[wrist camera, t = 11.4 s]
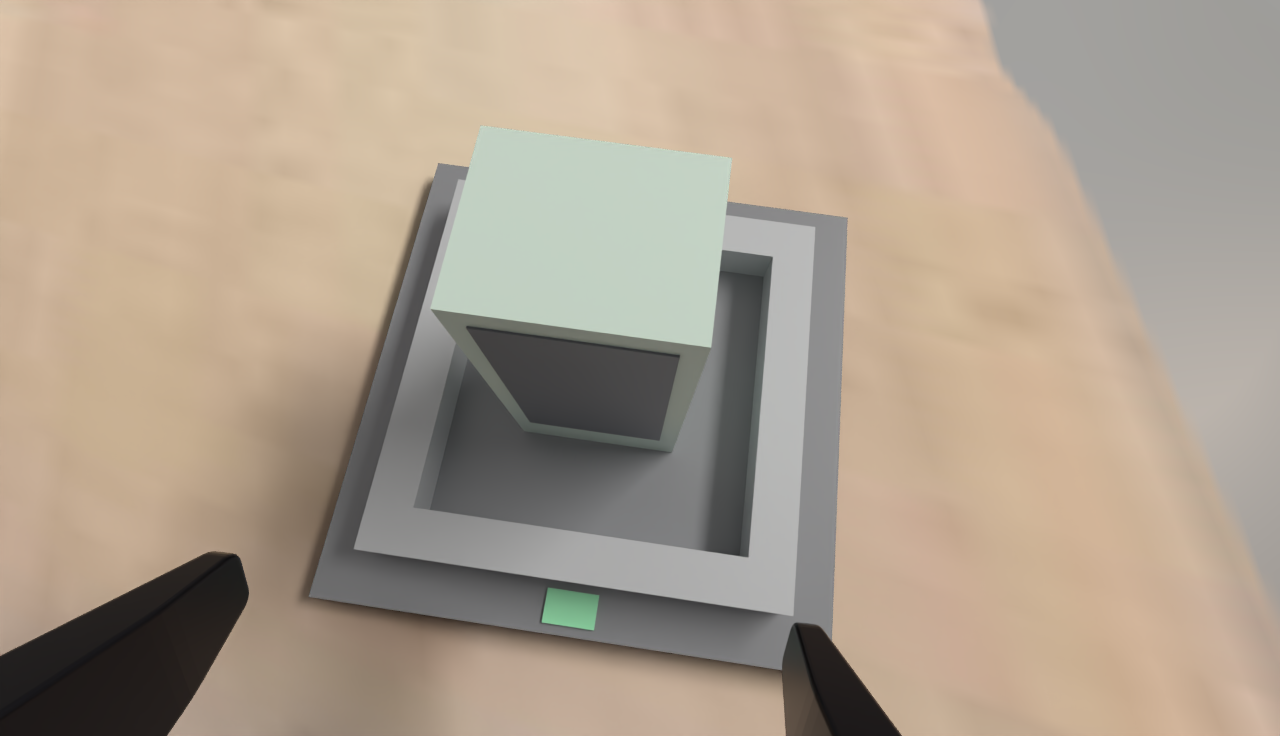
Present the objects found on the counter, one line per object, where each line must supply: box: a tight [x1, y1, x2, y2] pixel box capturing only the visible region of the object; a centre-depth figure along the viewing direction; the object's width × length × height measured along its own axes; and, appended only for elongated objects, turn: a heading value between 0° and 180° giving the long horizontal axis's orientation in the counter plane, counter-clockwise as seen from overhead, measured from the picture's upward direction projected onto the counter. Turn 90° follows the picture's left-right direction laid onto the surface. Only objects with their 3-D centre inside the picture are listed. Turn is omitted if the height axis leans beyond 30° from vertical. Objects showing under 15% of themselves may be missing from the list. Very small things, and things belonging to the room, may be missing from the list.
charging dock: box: [309, 163, 848, 670], centre depth 20 cm, size 16×16×2 cm
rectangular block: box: [430, 126, 732, 452], centre depth 16 cm, size 4×5×10 cm
